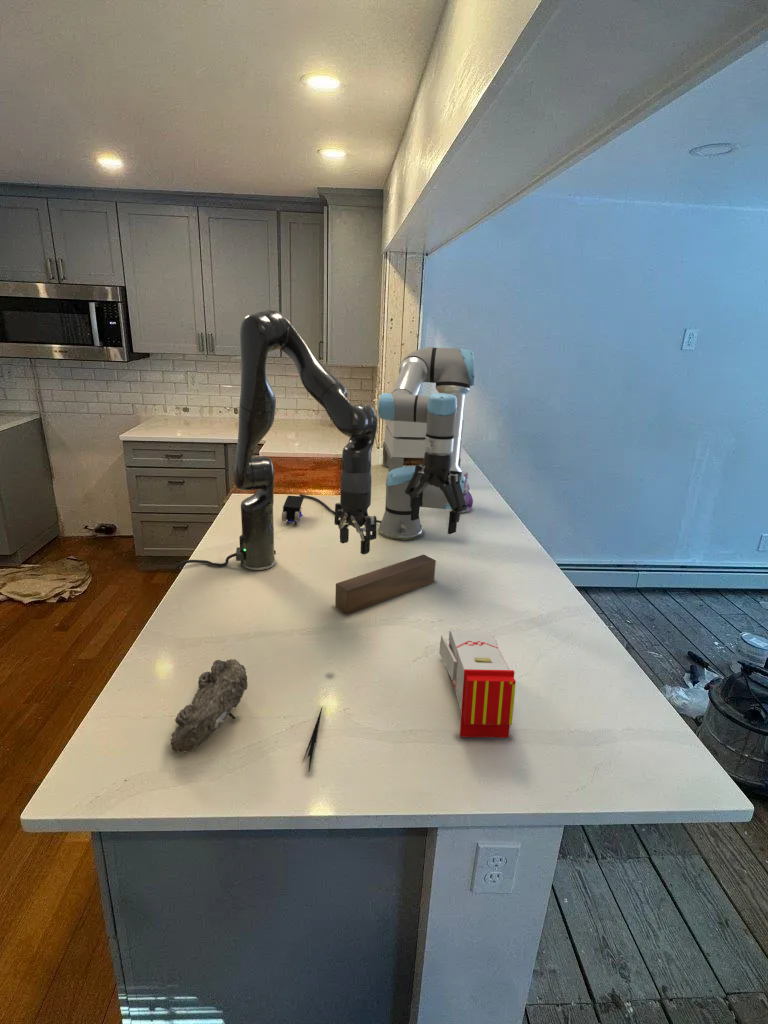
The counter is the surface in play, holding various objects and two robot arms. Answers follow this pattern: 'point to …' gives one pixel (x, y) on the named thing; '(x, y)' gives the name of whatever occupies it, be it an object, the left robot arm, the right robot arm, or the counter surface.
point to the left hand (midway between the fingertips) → (354, 547)
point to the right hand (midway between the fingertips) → (432, 526)
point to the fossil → (210, 704)
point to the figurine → (467, 495)
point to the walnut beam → (384, 583)
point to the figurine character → (292, 509)
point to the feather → (313, 740)
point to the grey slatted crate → (406, 444)
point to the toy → (479, 682)
